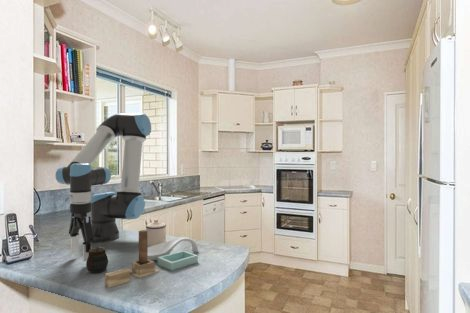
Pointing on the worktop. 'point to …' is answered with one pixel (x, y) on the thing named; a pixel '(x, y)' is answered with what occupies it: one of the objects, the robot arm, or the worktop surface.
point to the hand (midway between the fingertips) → (80, 256)
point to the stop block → (117, 277)
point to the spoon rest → (167, 248)
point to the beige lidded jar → (156, 232)
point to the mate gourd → (97, 260)
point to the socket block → (143, 269)
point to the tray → (177, 260)
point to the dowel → (143, 247)
